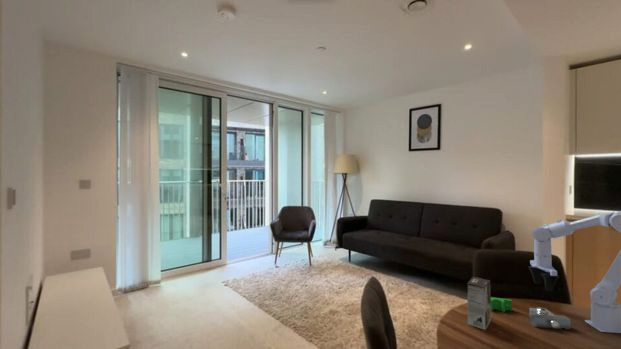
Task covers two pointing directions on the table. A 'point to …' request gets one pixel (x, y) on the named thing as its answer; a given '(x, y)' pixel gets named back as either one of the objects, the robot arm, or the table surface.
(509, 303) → the pipe clamp
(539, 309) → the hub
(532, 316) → the end block
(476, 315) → the coffee box
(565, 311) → the table surface
